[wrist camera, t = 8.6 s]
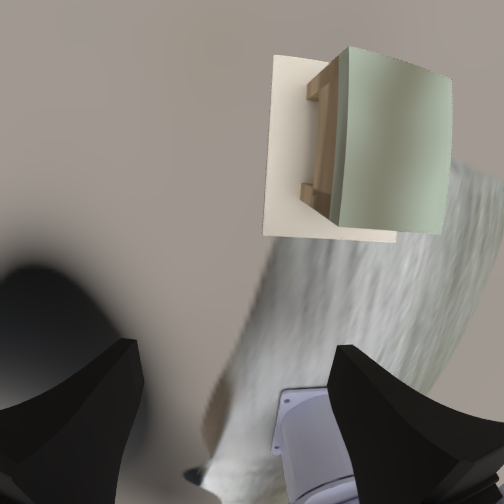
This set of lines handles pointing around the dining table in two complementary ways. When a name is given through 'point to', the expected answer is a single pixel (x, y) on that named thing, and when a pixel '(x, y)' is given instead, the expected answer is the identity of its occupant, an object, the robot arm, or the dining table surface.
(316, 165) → the board with wooden rails
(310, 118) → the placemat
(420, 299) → the dining table surface
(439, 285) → the dining table surface
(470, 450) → the robot arm
